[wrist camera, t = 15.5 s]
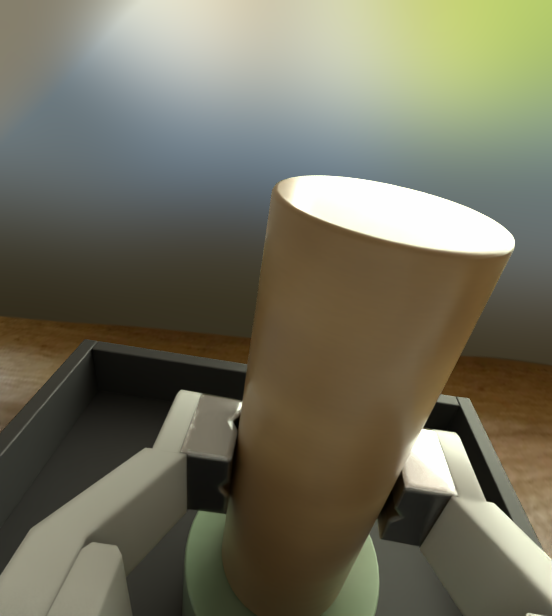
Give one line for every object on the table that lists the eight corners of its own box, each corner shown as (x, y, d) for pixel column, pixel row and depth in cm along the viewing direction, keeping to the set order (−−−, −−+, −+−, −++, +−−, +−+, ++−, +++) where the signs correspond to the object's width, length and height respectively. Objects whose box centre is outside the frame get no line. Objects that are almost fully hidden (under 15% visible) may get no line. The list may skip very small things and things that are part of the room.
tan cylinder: (154, 704, 9) (129, 234, 3) (206, 506, 13) (239, 148, 7) (358, 740, 9) (756, 345, 3) (344, 531, 13) (495, 192, 7)
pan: (-350, 996, 6) (-535, 1022, 5) (93, 388, 18) (84, 338, 17) (715, 1189, 6) (905, 1285, 4) (445, 443, 18) (469, 398, 16)
